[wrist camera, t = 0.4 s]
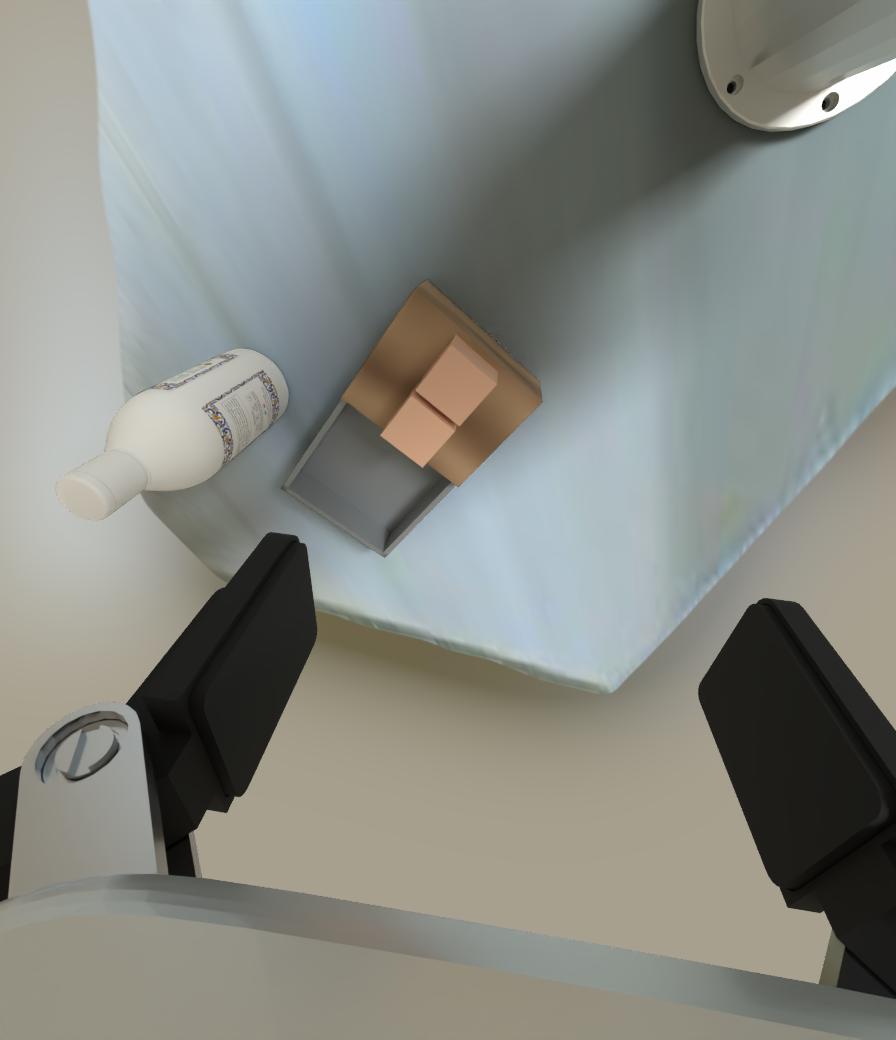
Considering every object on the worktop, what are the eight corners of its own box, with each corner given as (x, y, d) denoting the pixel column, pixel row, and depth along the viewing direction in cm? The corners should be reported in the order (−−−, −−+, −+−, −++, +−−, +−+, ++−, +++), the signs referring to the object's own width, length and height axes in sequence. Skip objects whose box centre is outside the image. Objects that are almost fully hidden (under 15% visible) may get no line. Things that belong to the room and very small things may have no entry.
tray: (356, 382, 40) (341, 397, 36) (460, 464, 43) (455, 485, 40) (297, 468, 45) (280, 488, 42) (393, 534, 49) (384, 558, 45)
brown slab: (426, 279, 34) (415, 287, 30) (539, 381, 38) (542, 401, 34) (359, 378, 39) (341, 397, 35) (463, 461, 43) (458, 487, 39)
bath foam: (208, 395, 42) (12, 510, 26) (229, 330, 38) (16, 415, 22) (276, 435, 44) (132, 568, 27) (302, 376, 40) (154, 489, 24)
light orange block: (418, 382, 34) (411, 395, 31) (459, 416, 35) (455, 431, 33) (389, 420, 36) (380, 435, 33) (428, 451, 37) (422, 467, 35)
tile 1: (456, 334, 32) (451, 344, 29) (498, 371, 33) (496, 384, 30) (422, 377, 34) (415, 390, 31) (463, 411, 35) (459, 426, 32)
